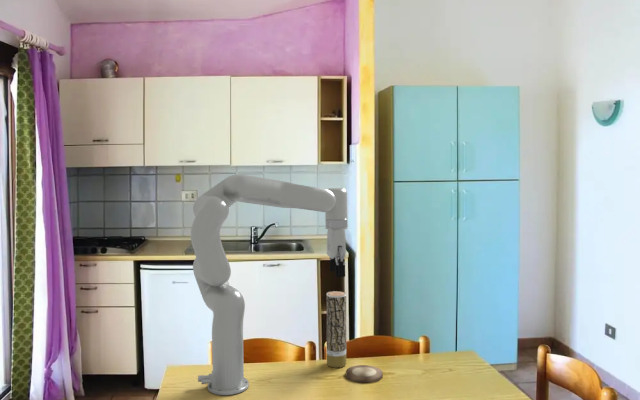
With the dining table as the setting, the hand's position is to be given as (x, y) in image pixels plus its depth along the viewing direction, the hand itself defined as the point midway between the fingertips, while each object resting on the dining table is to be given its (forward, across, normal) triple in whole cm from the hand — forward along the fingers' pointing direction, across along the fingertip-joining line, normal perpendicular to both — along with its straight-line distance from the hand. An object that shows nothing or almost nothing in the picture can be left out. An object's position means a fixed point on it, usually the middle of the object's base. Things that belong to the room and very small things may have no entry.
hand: (337, 273), depth 182 cm
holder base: (+32, +11, +6) cm, 34 cm away
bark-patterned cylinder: (+32, 0, -1) cm, 32 cm away
